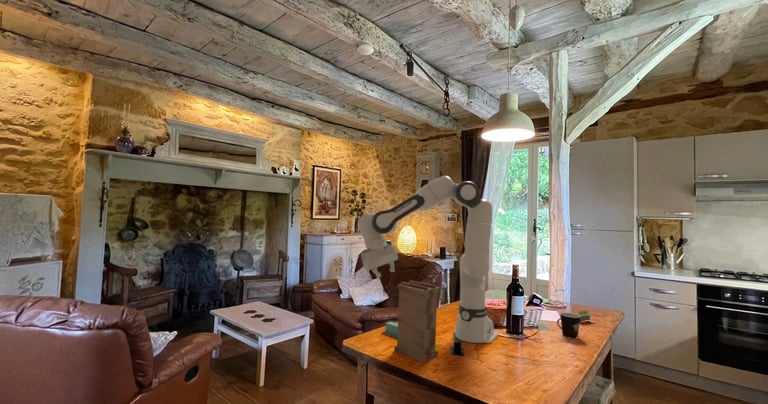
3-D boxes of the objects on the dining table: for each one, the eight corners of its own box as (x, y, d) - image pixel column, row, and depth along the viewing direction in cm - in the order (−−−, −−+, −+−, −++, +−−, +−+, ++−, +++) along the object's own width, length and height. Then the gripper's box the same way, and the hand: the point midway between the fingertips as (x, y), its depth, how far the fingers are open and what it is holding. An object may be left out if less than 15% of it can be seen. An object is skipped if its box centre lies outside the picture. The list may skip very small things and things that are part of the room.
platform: (562, 321, 194) (563, 309, 194) (583, 318, 201) (583, 306, 202) (583, 327, 183) (583, 314, 183) (604, 324, 191) (604, 312, 191)
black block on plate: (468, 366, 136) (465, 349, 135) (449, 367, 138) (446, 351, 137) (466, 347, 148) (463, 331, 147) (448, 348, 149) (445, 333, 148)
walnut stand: (410, 345, 147) (412, 279, 148) (437, 355, 137) (439, 285, 138) (394, 351, 139) (396, 282, 141) (422, 362, 130) (424, 288, 131)
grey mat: (395, 329, 167) (395, 327, 167) (432, 342, 151) (432, 340, 152) (382, 333, 160) (382, 331, 160) (419, 347, 145) (419, 345, 145)
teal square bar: (390, 328, 165) (390, 321, 165) (427, 341, 150) (428, 333, 150) (385, 330, 163) (385, 322, 163) (422, 343, 147) (423, 335, 147)
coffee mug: (575, 333, 171) (575, 313, 171) (583, 339, 162) (583, 318, 162) (550, 332, 172) (551, 311, 172) (557, 338, 163) (558, 316, 164)
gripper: (364, 249, 155) (375, 278, 152) (394, 240, 169) (404, 267, 167) (355, 253, 159) (366, 282, 156) (385, 244, 174) (396, 270, 171)
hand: (386, 274), depth 161 cm, fingers open, 8 cm apart
